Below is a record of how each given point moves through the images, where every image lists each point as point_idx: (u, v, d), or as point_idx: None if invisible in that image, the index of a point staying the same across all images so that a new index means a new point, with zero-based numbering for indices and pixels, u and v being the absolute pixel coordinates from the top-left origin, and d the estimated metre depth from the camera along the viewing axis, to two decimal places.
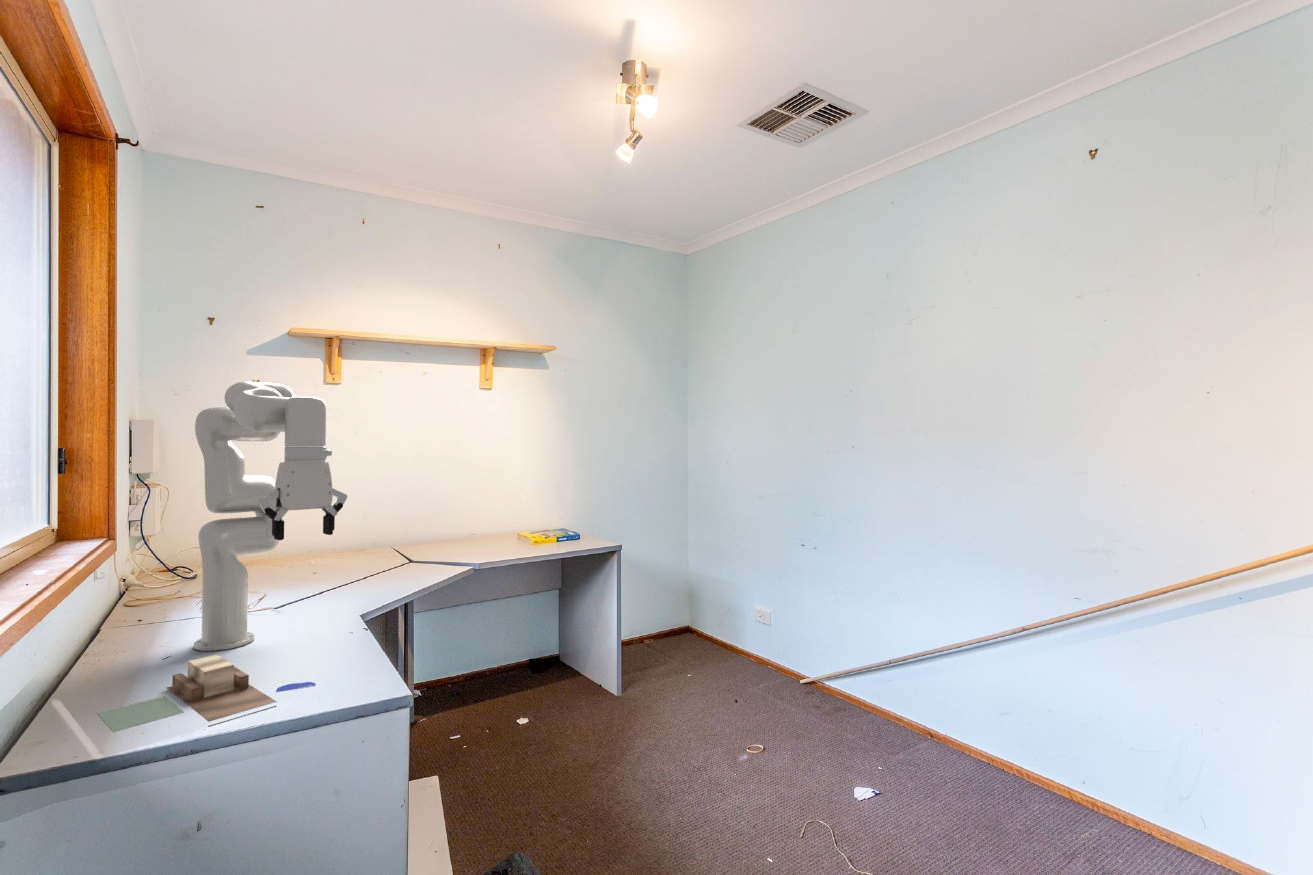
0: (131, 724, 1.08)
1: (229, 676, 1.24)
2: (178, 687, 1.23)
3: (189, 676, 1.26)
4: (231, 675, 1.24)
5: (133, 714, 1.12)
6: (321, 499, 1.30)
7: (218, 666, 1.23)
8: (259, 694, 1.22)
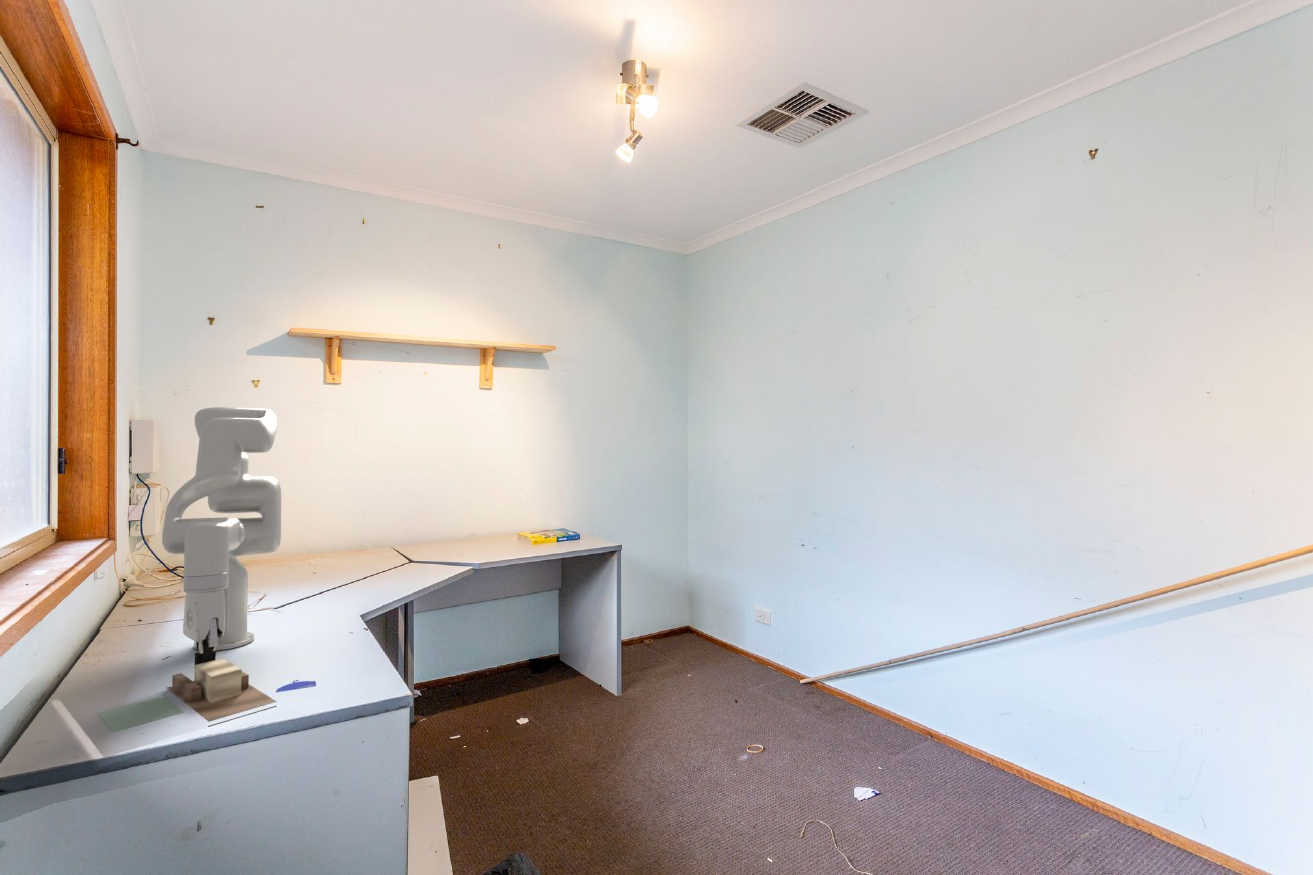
0: (131, 724, 1.08)
1: (236, 681, 1.21)
2: (178, 687, 1.23)
3: (196, 680, 1.23)
4: (238, 680, 1.21)
5: (133, 714, 1.12)
6: None
7: (225, 670, 1.21)
8: (259, 694, 1.22)
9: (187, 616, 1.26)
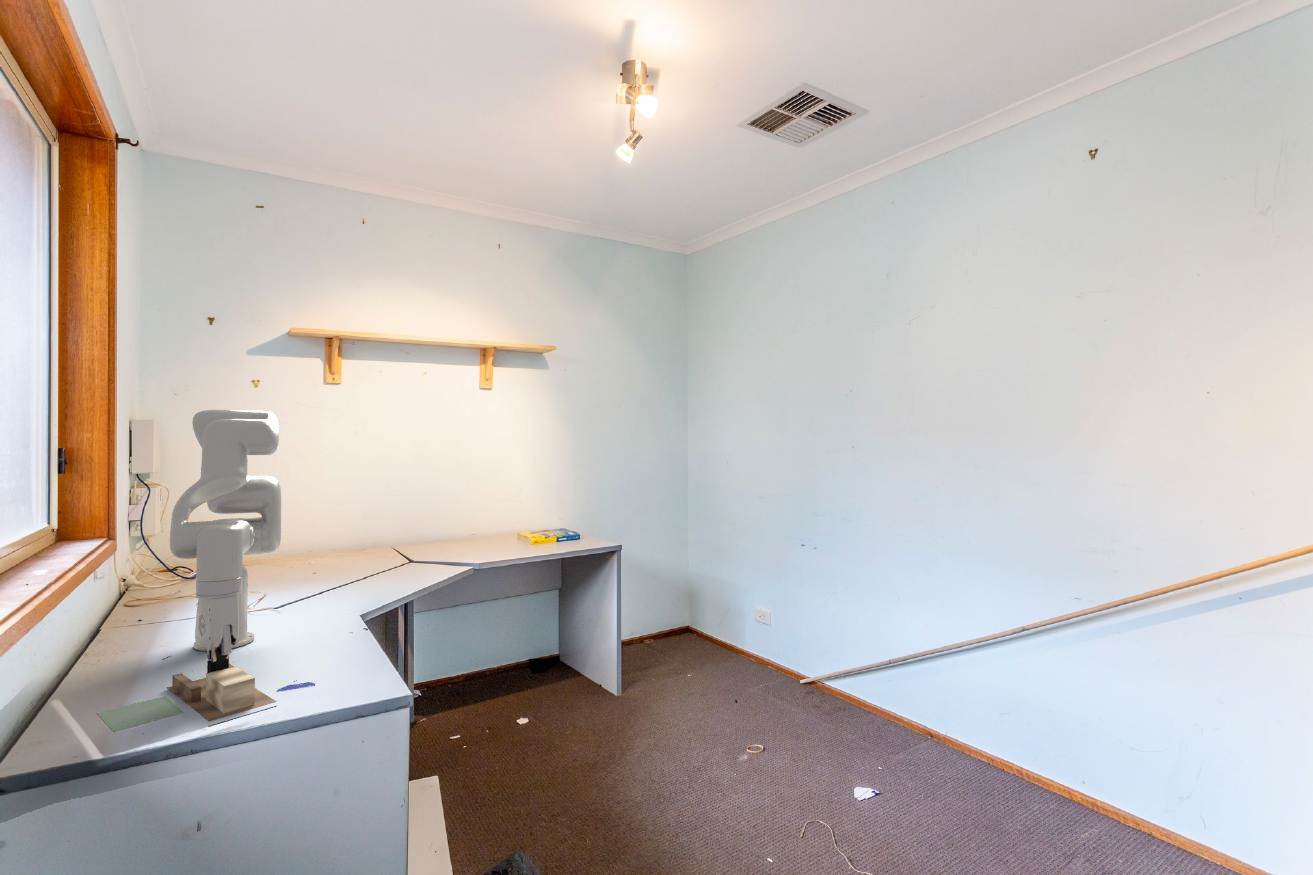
0: (131, 724, 1.08)
1: (250, 690, 1.16)
2: (178, 687, 1.23)
3: (207, 690, 1.19)
4: (252, 689, 1.17)
5: (133, 714, 1.12)
6: None
7: (238, 679, 1.16)
8: (259, 694, 1.22)
9: (199, 623, 1.21)
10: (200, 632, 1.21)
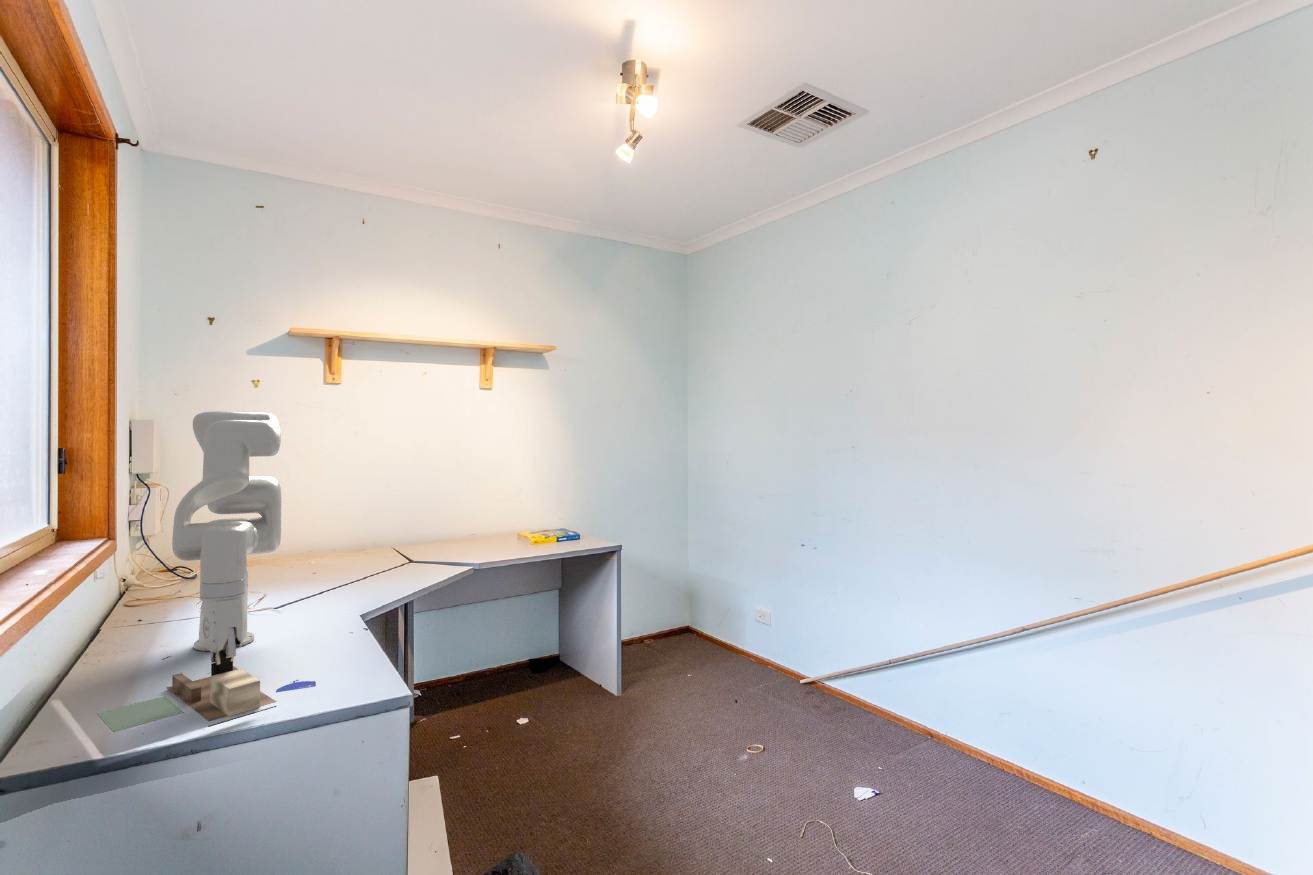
0: (131, 724, 1.08)
1: (255, 693, 1.15)
2: (178, 687, 1.23)
3: (212, 692, 1.17)
4: (257, 692, 1.15)
5: (133, 714, 1.12)
6: None
7: (243, 682, 1.15)
8: None
9: (203, 625, 1.20)
10: (204, 635, 1.20)
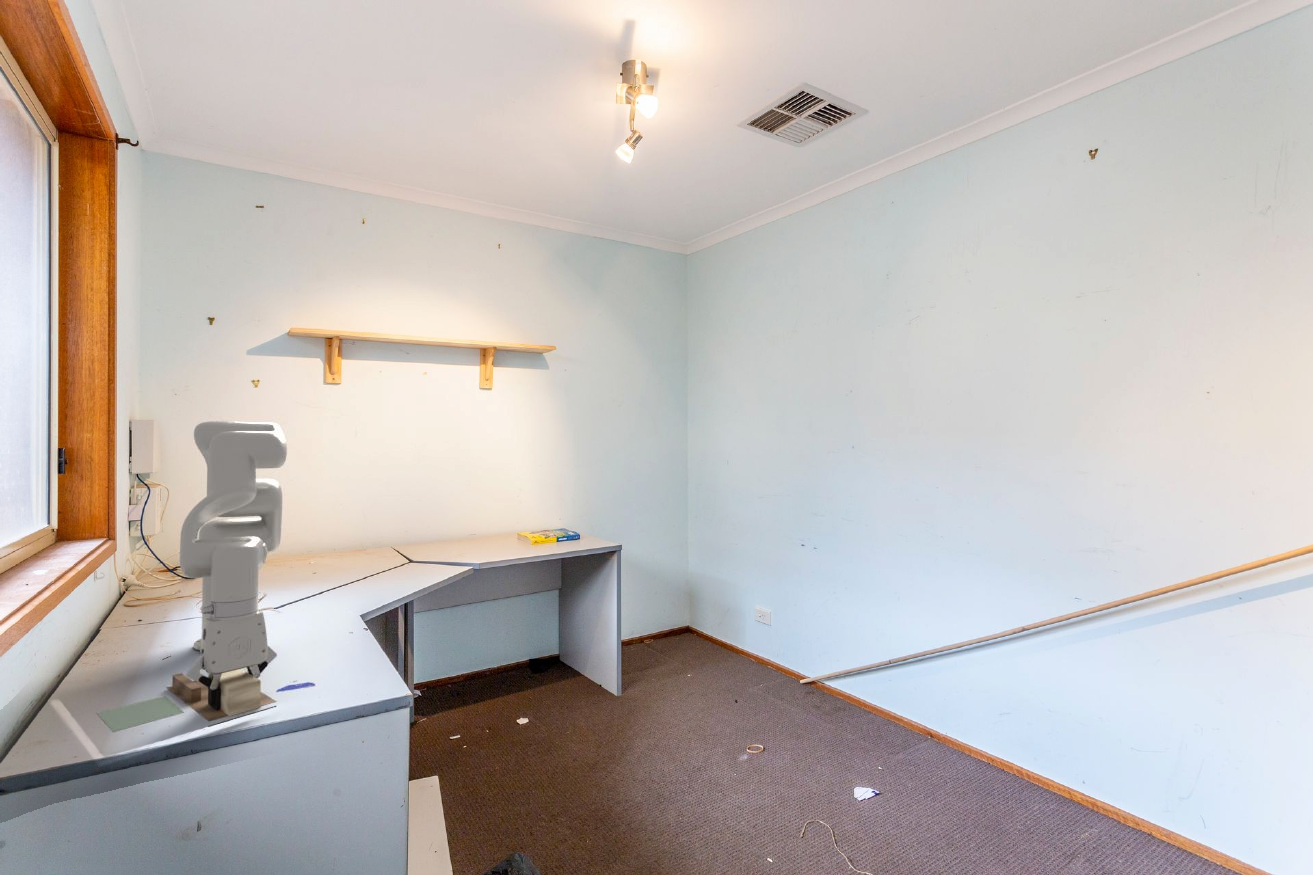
0: (131, 724, 1.08)
1: (255, 693, 1.15)
2: (178, 687, 1.23)
3: None
4: (257, 692, 1.16)
5: (133, 714, 1.12)
6: None
7: (244, 682, 1.15)
8: None
9: (230, 647, 1.15)
10: (234, 656, 1.15)
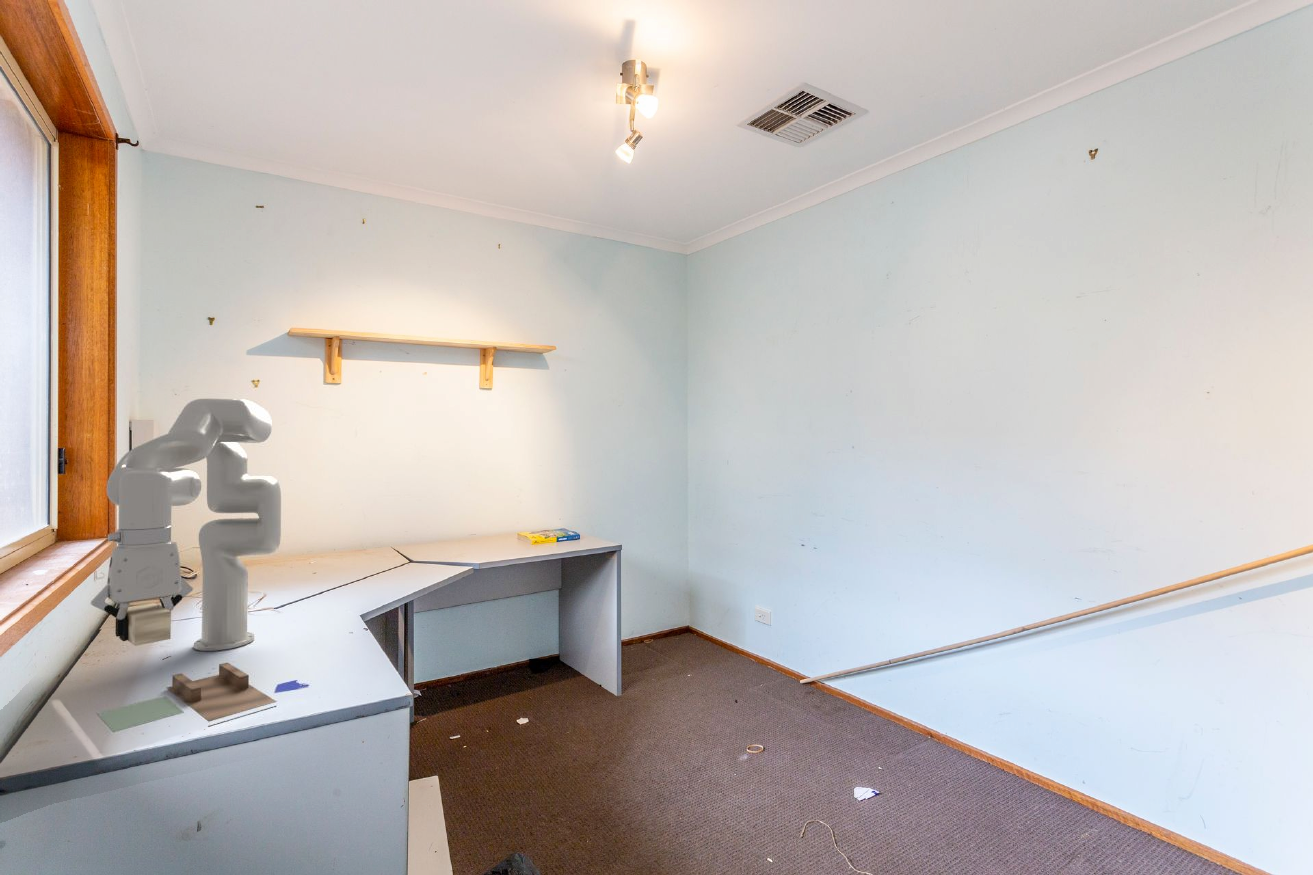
0: (131, 724, 1.08)
1: (165, 624, 1.11)
2: (178, 687, 1.23)
3: None
4: (167, 623, 1.12)
5: (133, 714, 1.12)
6: None
7: (153, 612, 1.11)
8: (259, 694, 1.22)
9: (139, 577, 1.11)
10: (142, 586, 1.11)
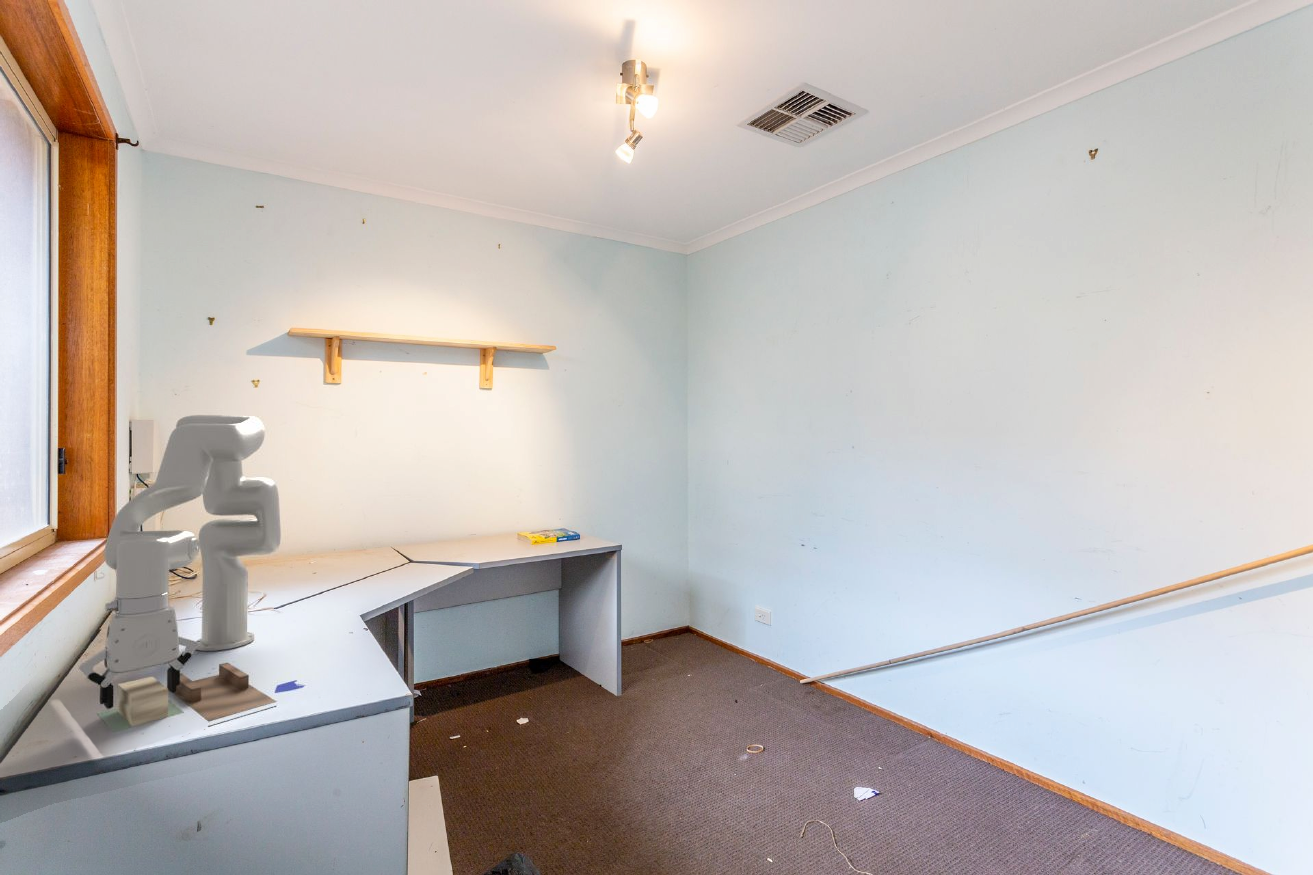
0: None
1: (162, 702, 1.11)
2: (178, 687, 1.23)
3: (119, 701, 1.13)
4: (165, 700, 1.11)
5: None
6: None
7: (150, 690, 1.11)
8: (259, 694, 1.22)
9: (136, 645, 1.11)
10: (140, 654, 1.11)
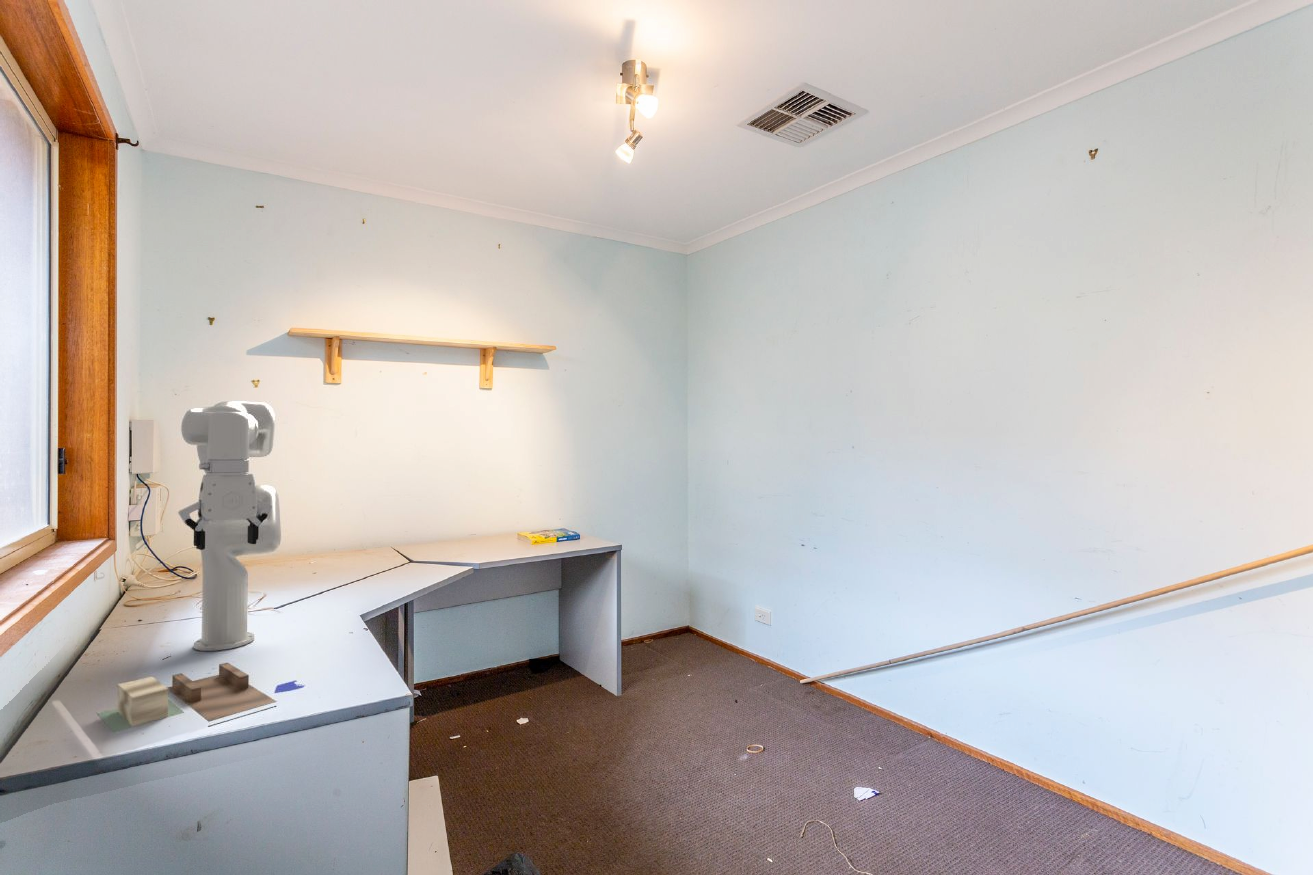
0: None
1: (162, 702, 1.11)
2: (178, 687, 1.23)
3: (119, 701, 1.13)
4: (165, 700, 1.11)
5: None
6: None
7: (150, 690, 1.11)
8: (259, 694, 1.22)
9: (224, 500, 1.32)
10: (227, 508, 1.32)
